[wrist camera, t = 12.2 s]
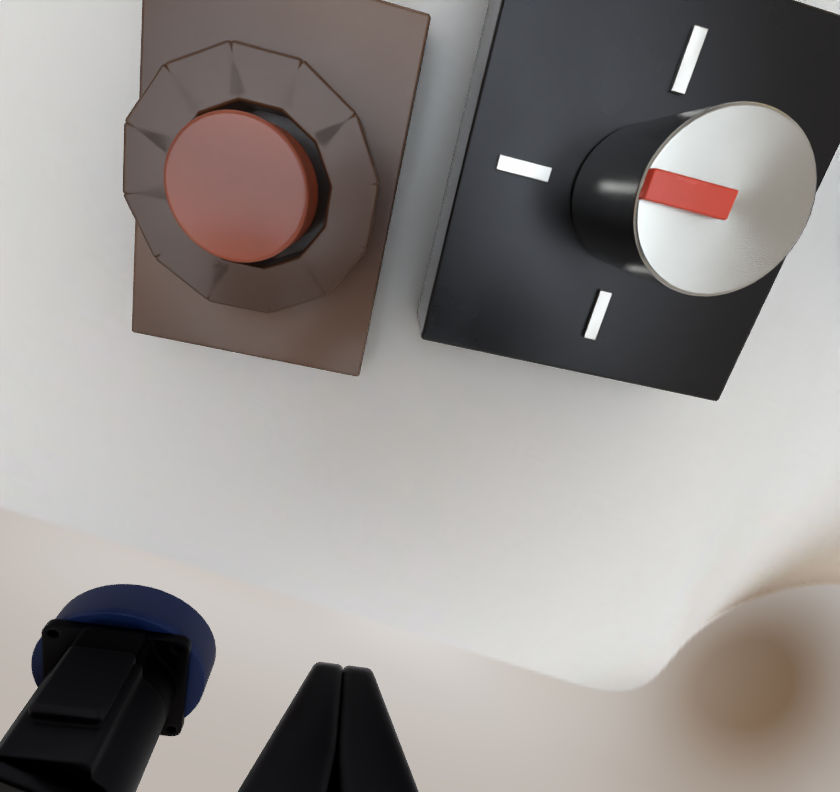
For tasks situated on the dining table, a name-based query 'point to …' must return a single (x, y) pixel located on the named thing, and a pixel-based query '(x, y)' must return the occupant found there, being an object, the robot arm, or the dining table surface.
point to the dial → (698, 197)
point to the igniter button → (240, 185)
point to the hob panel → (564, 157)
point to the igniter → (316, 132)
